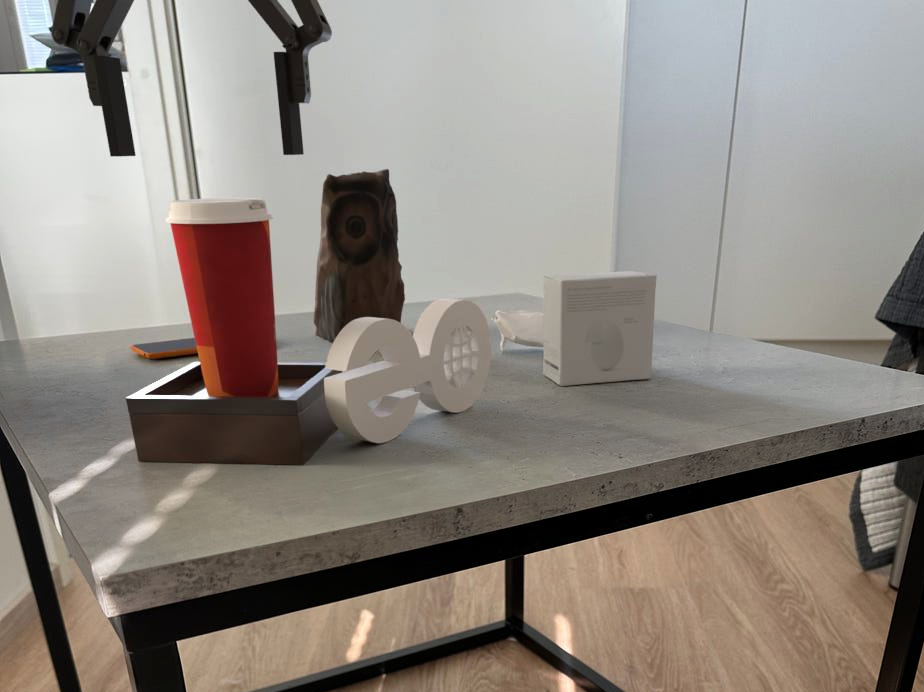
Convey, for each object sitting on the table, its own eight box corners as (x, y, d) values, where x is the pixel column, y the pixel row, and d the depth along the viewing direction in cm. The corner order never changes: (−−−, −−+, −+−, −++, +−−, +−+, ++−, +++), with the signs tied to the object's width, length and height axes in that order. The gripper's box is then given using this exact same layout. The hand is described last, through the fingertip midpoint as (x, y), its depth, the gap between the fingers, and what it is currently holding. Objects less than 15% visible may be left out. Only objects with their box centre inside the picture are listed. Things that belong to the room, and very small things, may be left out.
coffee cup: (309, 385, 81) (290, 196, 74) (260, 407, 74) (234, 202, 67) (227, 379, 84) (201, 197, 77) (172, 401, 77) (138, 202, 70)
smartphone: (276, 344, 120) (276, 337, 119) (148, 361, 111) (147, 354, 111) (253, 336, 125) (252, 329, 125) (129, 351, 117) (128, 344, 116)
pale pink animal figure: (504, 368, 111) (585, 345, 110) (489, 310, 109) (572, 286, 108) (503, 368, 116) (581, 345, 115) (489, 312, 114) (567, 289, 113)
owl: (405, 328, 129) (396, 168, 120) (420, 344, 118) (412, 170, 109) (314, 333, 127) (298, 170, 117) (321, 350, 116) (304, 172, 106)
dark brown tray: (137, 461, 76) (125, 398, 73) (203, 417, 88) (194, 361, 85) (303, 465, 74) (296, 400, 72) (346, 419, 86) (341, 362, 84)
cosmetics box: (629, 367, 104) (635, 268, 99) (652, 380, 99) (659, 275, 94) (540, 374, 102) (542, 272, 97) (559, 386, 96) (561, 280, 91)
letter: (473, 397, 93) (471, 291, 88) (491, 399, 92) (490, 293, 87) (330, 452, 77) (318, 327, 72) (350, 456, 76) (340, 329, 71)
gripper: (358, -201, 62) (377, 153, 72) (13, -183, 65) (78, 156, 75) (329, -241, 56) (355, 154, 66) (-53, -220, 59) (28, 157, 69)
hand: (207, 156), depth 71 cm, fingers open, 13 cm apart
